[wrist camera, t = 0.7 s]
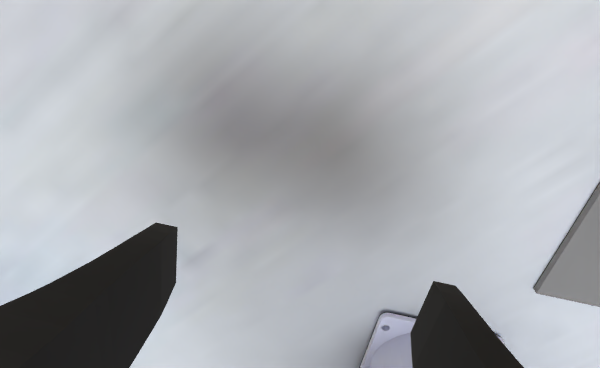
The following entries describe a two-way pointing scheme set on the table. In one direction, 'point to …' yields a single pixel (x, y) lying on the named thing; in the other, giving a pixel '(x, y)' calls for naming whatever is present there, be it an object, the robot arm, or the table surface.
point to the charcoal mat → (577, 260)
